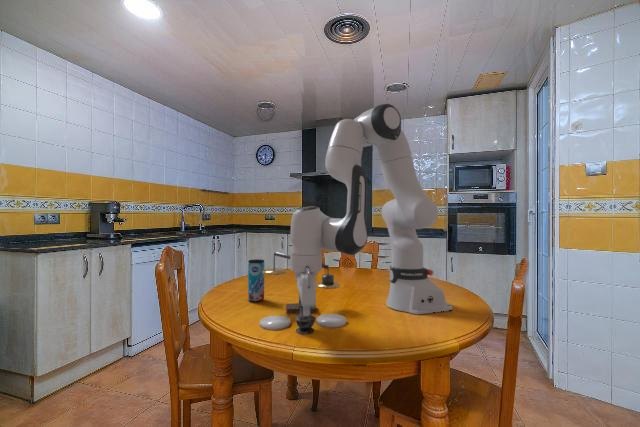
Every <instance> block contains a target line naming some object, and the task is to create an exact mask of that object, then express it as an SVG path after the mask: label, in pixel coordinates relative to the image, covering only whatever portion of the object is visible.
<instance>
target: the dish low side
mask: <svg viewBox="0 0 640 427" xmlns="http://www.w3.org/2000/svg"><path fill="white" fill-rule="evenodd" d="M316 324H317V325H319V326H320V327H323V328H340V327H341V328H342V327H344V326H346V324H347V317H345V316H344V315H341V314H336V313H324V314H320V315H319V316H317V317H316Z"/></svg>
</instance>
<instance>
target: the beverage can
mask: <svg viewBox="0 0 640 427" xmlns="http://www.w3.org/2000/svg"><path fill="white" fill-rule="evenodd" d="M264 269H265V260H264V259H250V260H248V272H247V274H248V275H247V279H248V280H247V281H248V282H247V299H248V302H250V303H261V302H263V301H264V300H265V274H263V273H262V270H264Z"/></svg>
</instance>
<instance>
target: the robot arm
mask: <svg viewBox="0 0 640 427" xmlns="http://www.w3.org/2000/svg"><path fill="white" fill-rule="evenodd" d="M401 117H402V116H401V114H400V112H399V110H398V109H397V108H396V107H395V106H394V105H392V104H390V103H383V104H379V105H376V106H375V107H373V108H370V109H368V110H366V111H364V112H362V113H361V114H359V115H357V116H356V117H355V118H352V119H351V118H345V119H341V120H340V121H338V122H337V123H336V124H335V126H334V128H333V131H332V133H331V135H330V139H329V142H328V147H327V150H326V153H325V154H326V155H325V160H324V161H325V162H324V164H325V170H326V171H327V173H328V174H329V175H330V177H332V178H333V179H334V180H336V181H338V182H341V183H343V184H345V187H346V188H347V196H346V197H347V198H346V214H345V216H344V217H343V218H339V217H336V218H335V217H331V216H328V215H326V214H325V213H323V211H321V210H320V209H321V208H320V207H319V206H317V205H316V206H315V205H309V206H302V207H300V206H299V207H298V208H296V209H294V210H293V212H292V216H291V219H290V241H291V248H290V252H289V255H290V259H289V261H290V262H289V265H290V266H289V268H290V269H289V270H290V271H291V272H294V277H295V278H296V286H297V290H298V296H299V295H300V300H301V304H302V306H303V316H309V315H310V306H315V305H316V303H317V289H316V288H317V286H316V284H317V282H316V277H317V276H318V272H320V271H322V269H323V268H322V264H323V262H322V259H323V258H322V254H323V252H322V250H328V251H332V252H339V253H343V254H345V255H349V256H354V255H357V254H358V253H359V252H361V251H362V249H364V248H365V247H366V244H367V242H368V226H367V202H368V198H367V195H368V177H367V173H366V172H367V171H366V170H365V168H364V167H363V166H362V156H363V150H364V148H367V147H370V146H374V147H376V148H377V152H378V158H379V164H380V167H381V172H382V173H381V174H382V177H383V181H384V185H385V186H386V188H387V189H389V191H390V192H391V193H392V195H393V198H394V199H391V200H389V201H387V202H385V203H384V205H383V206H382V208H381V217H382V220H383V221H384V223H385V225H386V227H387V231H388V236H389V240H390V248H391V249H390V251H391V252H390V253H391V254H390V255H391V258H390V259H391V265H390V266H389V282H390V285H389V292H388V296H387V299H386V302H385V304H386V306H387V307H388V308H390V309H392V310H396V311H400V312H405V313H410V314H413V315H425V314H434V313H433V312H435V313H441V311H442V313H443V311H444V312H450V311H449V310H452V311H453V306H452V305H451V304H450V303H449V302H448V301H446V296H445V293H444V291H443V289H442V288H441V287H439V286H438V285H437V284H436V283H435V282H434V281H432V280H431V279H430V278H428V277H429V276H431V277H432V276H433V275H434V270H433V269H430V268H428V269H427V268H426V267H424V245H423V242H421V240H420V239H419V237H418V234H417V230H422V229H426V228H429V227H432V226H434V224H435V223H436V222H437V221H438V217H439V208H438V205H437V203H436V202H435V201H434V200H432V199H431V198H430V197H429V196H428V195H427V194H426V192H425V190H424V189H423V186H422V185H421V183H420V181H419V179H418V176H417V173H416V169H415V165H414V159H413V156H412V151H411V148H410V147H411V146H410V145H409V144H410V143H409V142H408V138H407V136H406V134H405V133H404V131H403V130H402V119H401Z"/></svg>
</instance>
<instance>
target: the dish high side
mask: <svg viewBox="0 0 640 427" xmlns="http://www.w3.org/2000/svg"><path fill="white" fill-rule="evenodd" d="M290 326H291V318H289V317H288V316H283V315H270V316H266V317H263V318H261V319H260V320H259V327H260V328H262V329H264V330H269V331H277V330H283V329H286V328H287V329H288V327H290Z"/></svg>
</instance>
